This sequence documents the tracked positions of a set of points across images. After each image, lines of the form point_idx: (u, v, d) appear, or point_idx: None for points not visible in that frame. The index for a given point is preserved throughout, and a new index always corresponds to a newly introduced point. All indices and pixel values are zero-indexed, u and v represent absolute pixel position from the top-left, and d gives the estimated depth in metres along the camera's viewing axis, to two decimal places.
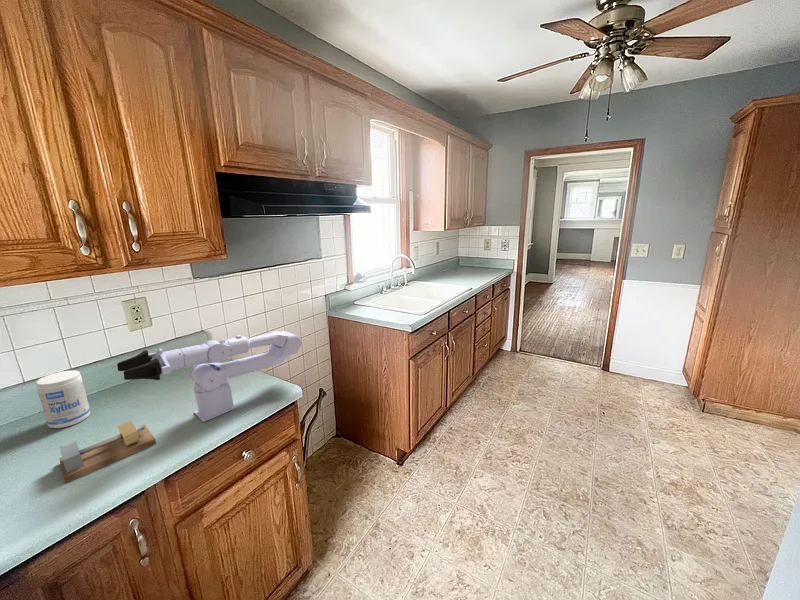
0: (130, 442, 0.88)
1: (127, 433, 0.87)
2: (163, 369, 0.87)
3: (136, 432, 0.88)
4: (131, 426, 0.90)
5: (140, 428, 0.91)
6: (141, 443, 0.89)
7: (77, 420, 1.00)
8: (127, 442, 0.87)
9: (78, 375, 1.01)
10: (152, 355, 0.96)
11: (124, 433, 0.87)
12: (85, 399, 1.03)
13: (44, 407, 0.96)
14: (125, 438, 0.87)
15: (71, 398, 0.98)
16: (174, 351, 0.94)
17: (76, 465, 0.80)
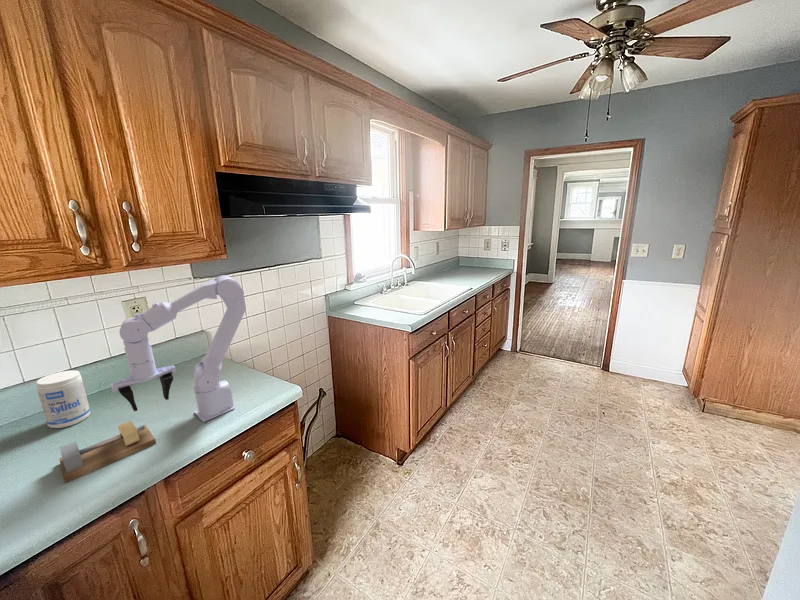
0: (130, 442, 0.88)
1: (127, 433, 0.87)
2: (112, 389, 0.88)
3: (136, 432, 0.88)
4: (131, 426, 0.90)
5: (140, 428, 0.91)
6: (141, 443, 0.89)
7: (77, 420, 1.00)
8: (127, 442, 0.87)
9: (78, 375, 1.01)
10: None
11: (124, 433, 0.87)
12: (85, 399, 1.03)
13: (44, 407, 0.96)
14: (125, 438, 0.87)
15: (71, 398, 0.98)
16: None
17: (76, 465, 0.80)
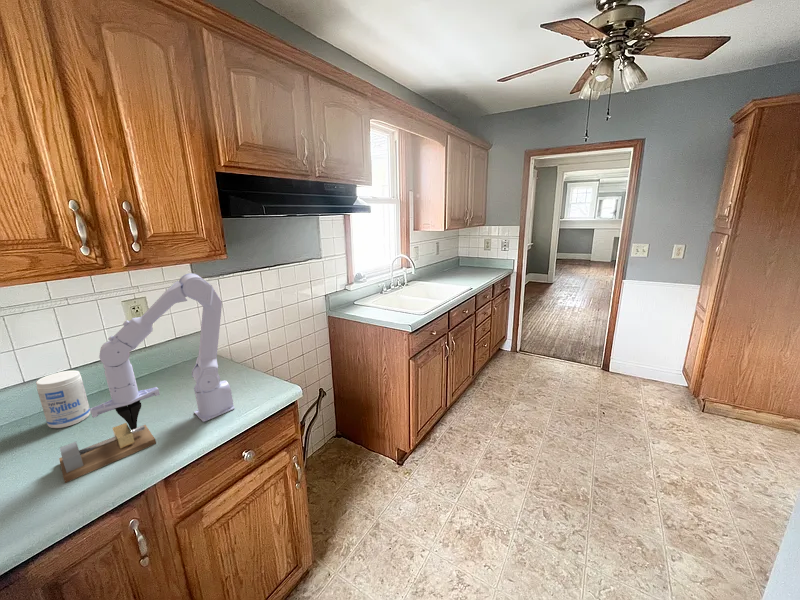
0: (125, 444, 0.87)
1: (122, 435, 0.86)
2: None
3: (131, 434, 0.87)
4: (126, 428, 0.89)
5: (140, 428, 0.91)
6: (141, 443, 0.89)
7: (77, 420, 1.00)
8: (122, 445, 0.86)
9: (78, 375, 1.01)
10: None
11: (119, 435, 0.87)
12: (85, 399, 1.03)
13: (44, 407, 0.96)
14: (120, 440, 0.86)
15: (71, 398, 0.98)
16: None
17: (76, 465, 0.80)
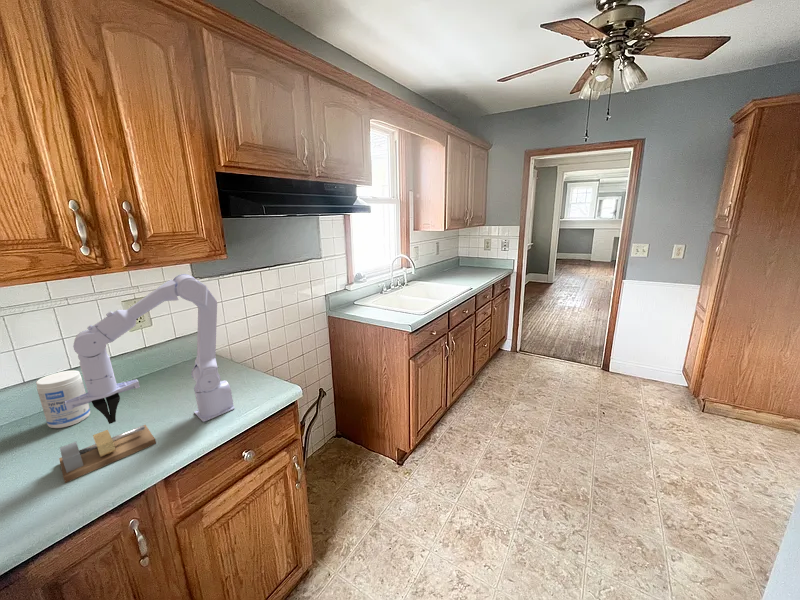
0: (105, 452, 0.84)
1: (102, 443, 0.84)
2: (66, 407, 0.82)
3: (111, 442, 0.85)
4: (107, 435, 0.87)
5: (140, 428, 0.91)
6: (141, 443, 0.89)
7: (77, 420, 1.00)
8: (102, 453, 0.83)
9: (78, 375, 1.01)
10: None
11: (99, 443, 0.84)
12: None
13: (44, 407, 0.96)
14: (99, 448, 0.83)
15: (72, 398, 0.98)
16: None
17: (76, 465, 0.80)
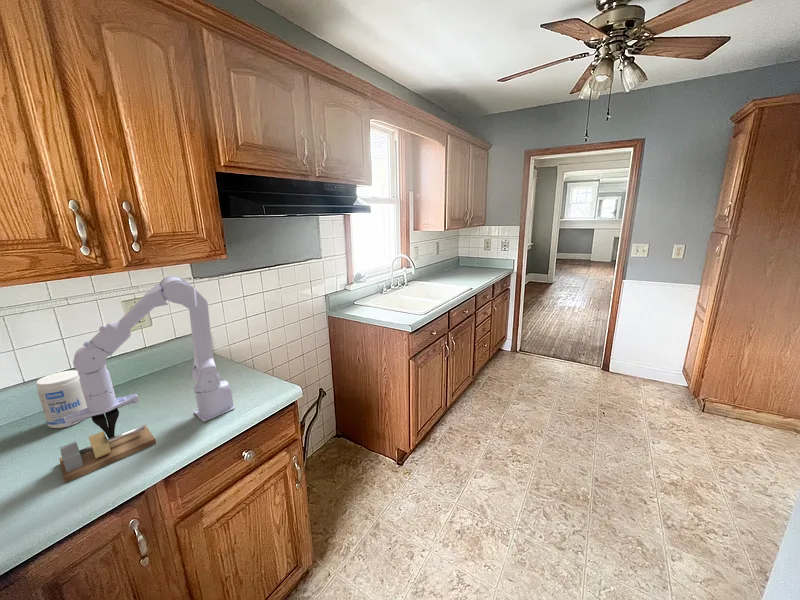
0: (100, 454, 0.83)
1: (97, 445, 0.83)
2: None
3: (107, 444, 0.84)
4: (102, 437, 0.86)
5: (140, 428, 0.91)
6: (141, 443, 0.89)
7: None
8: (98, 455, 0.83)
9: (78, 375, 1.01)
10: None
11: (94, 445, 0.83)
12: None
13: (44, 407, 0.96)
14: (95, 450, 0.82)
15: (72, 398, 0.98)
16: None
17: (76, 465, 0.80)
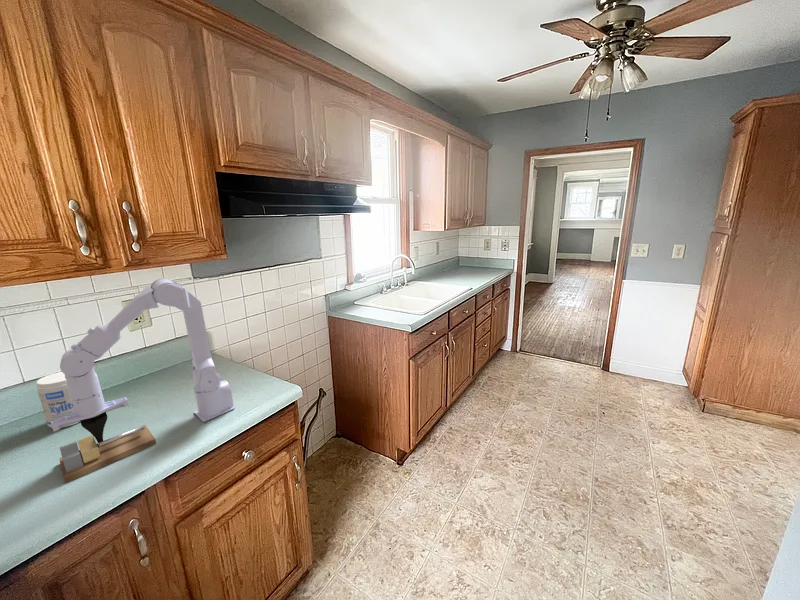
0: (89, 459, 0.82)
1: (86, 450, 0.81)
2: None
3: (96, 448, 0.82)
4: (92, 441, 0.84)
5: (140, 428, 0.91)
6: (141, 443, 0.89)
7: None
8: (86, 459, 0.81)
9: None
10: None
11: (83, 449, 0.81)
12: None
13: (44, 407, 0.96)
14: (83, 455, 0.81)
15: None
16: None
17: (76, 465, 0.80)
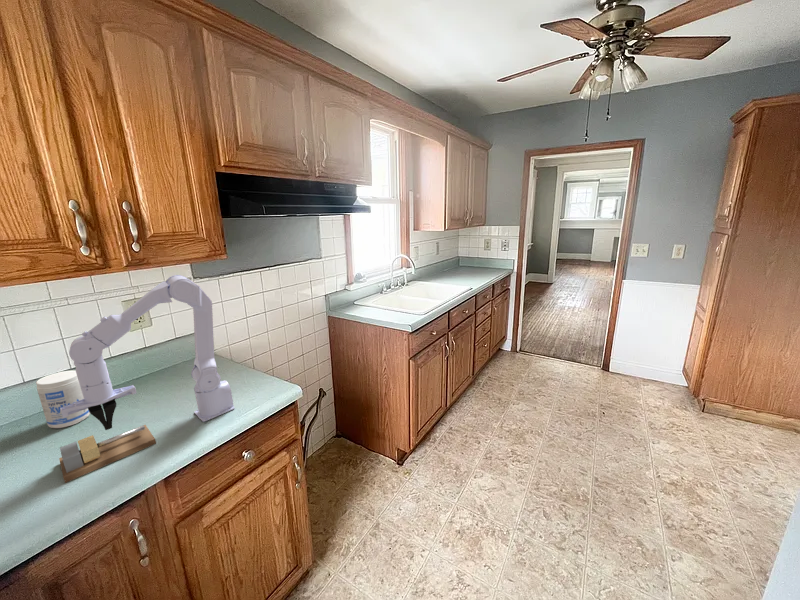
0: (89, 459, 0.82)
1: (86, 449, 0.81)
2: None
3: (96, 448, 0.82)
4: (92, 441, 0.84)
5: (140, 428, 0.91)
6: (141, 443, 0.89)
7: (77, 420, 1.00)
8: (86, 459, 0.81)
9: None
10: None
11: (83, 449, 0.82)
12: None
13: (44, 407, 0.96)
14: (84, 455, 0.81)
15: (71, 398, 0.98)
16: None
17: (76, 465, 0.80)
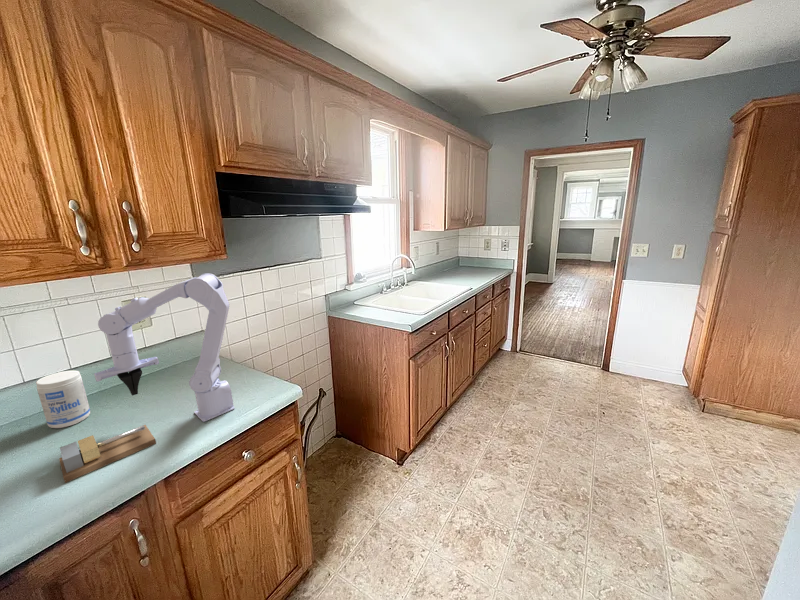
0: (89, 459, 0.82)
1: (86, 449, 0.81)
2: None
3: (96, 448, 0.82)
4: (92, 441, 0.84)
5: (140, 428, 0.91)
6: (141, 443, 0.89)
7: (77, 420, 1.00)
8: (86, 459, 0.81)
9: (78, 375, 1.01)
10: None
11: (83, 449, 0.82)
12: (85, 399, 1.03)
13: (44, 407, 0.96)
14: (84, 455, 0.81)
15: (71, 398, 0.98)
16: None
17: (76, 465, 0.80)
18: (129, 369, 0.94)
